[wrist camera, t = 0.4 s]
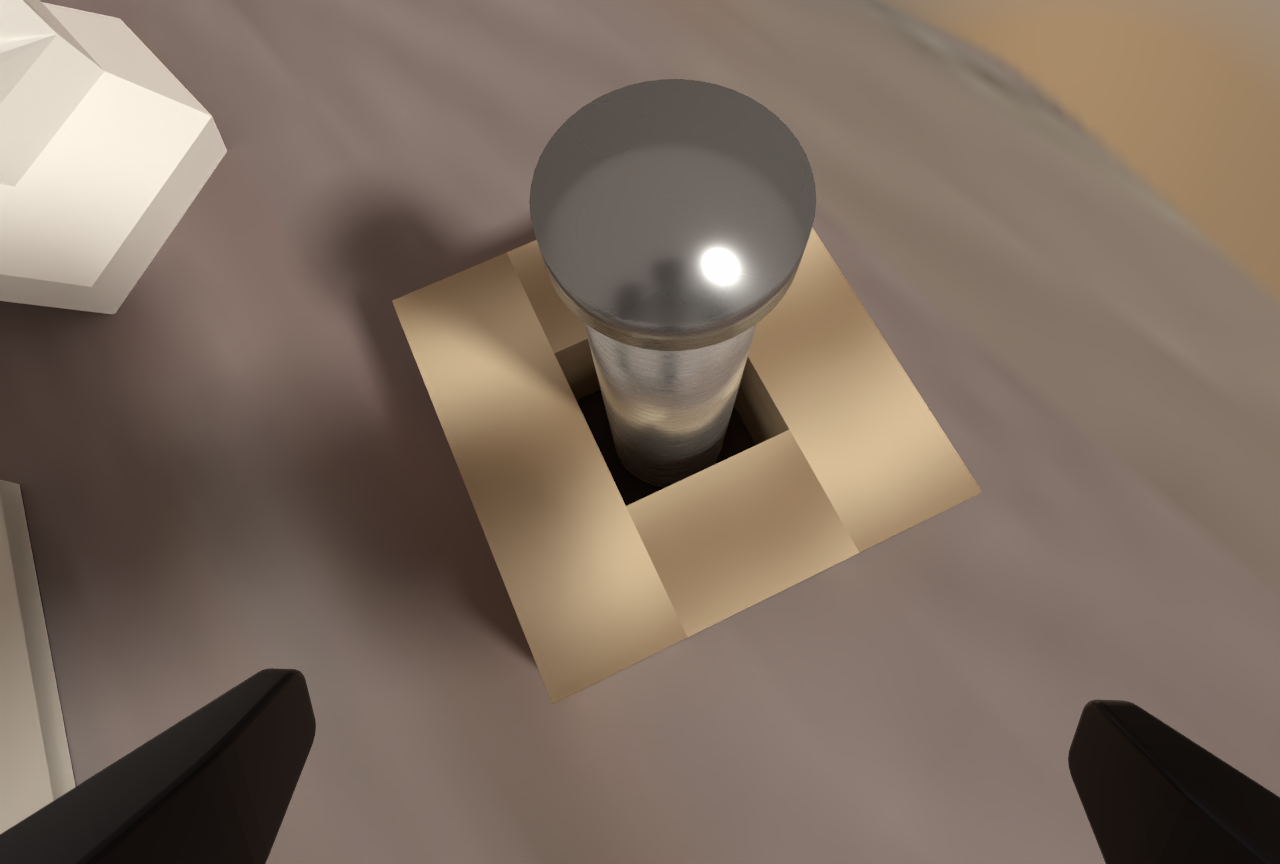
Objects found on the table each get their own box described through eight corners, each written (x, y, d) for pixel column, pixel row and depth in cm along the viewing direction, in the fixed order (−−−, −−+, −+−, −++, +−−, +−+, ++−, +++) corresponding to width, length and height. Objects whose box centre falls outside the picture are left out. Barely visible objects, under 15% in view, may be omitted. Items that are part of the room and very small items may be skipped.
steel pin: (759, 464, 22) (871, 249, 10) (635, 522, 22) (600, 370, 10) (698, 352, 23) (733, 42, 11) (580, 404, 23) (488, 141, 11)
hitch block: (925, 519, 21) (982, 491, 17) (573, 693, 20) (552, 703, 16) (745, 223, 25) (759, 145, 21) (436, 356, 24) (392, 300, 20)
